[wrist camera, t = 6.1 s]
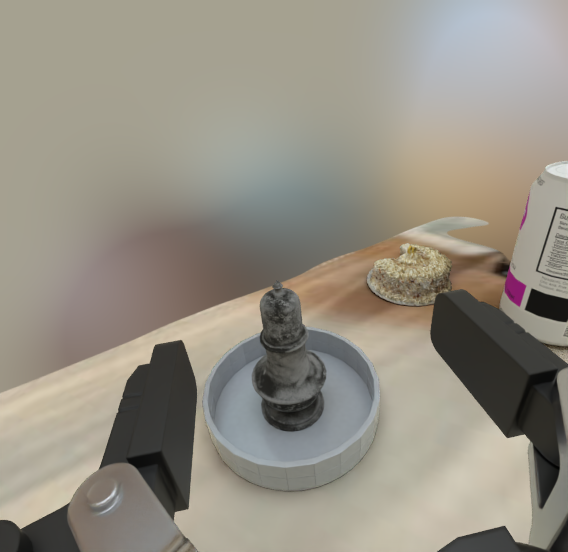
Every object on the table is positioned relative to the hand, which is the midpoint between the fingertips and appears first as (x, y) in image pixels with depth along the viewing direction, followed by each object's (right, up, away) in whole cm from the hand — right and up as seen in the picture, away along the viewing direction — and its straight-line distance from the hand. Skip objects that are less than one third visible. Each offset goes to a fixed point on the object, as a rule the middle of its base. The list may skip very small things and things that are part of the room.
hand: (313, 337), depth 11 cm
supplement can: (+25, -3, +24) cm, 35 cm away
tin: (0, -9, +18) cm, 20 cm away
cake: (+15, +1, +32) cm, 35 cm away
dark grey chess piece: (0, -9, +18) cm, 20 cm away
